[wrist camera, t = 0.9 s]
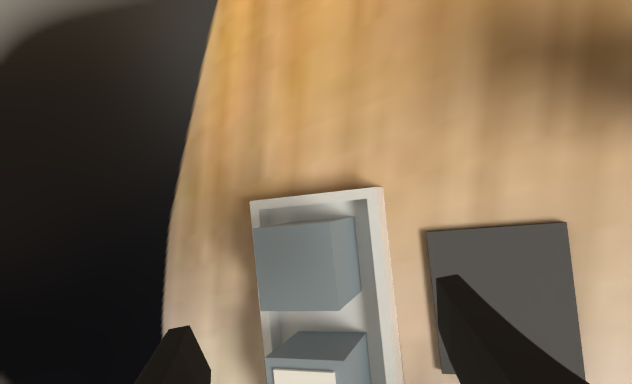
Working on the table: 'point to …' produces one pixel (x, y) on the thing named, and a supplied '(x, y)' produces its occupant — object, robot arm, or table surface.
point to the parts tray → (375, 269)
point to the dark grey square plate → (516, 282)
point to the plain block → (307, 265)
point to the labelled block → (320, 359)
